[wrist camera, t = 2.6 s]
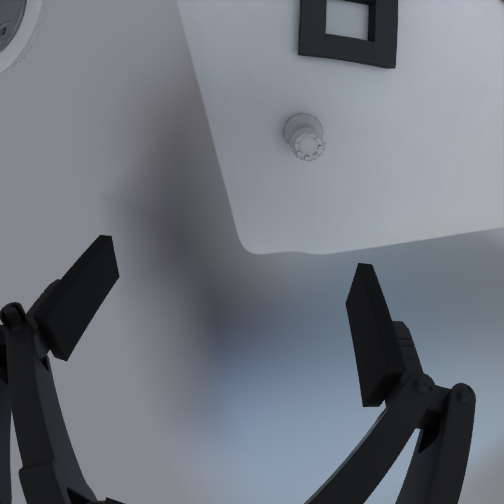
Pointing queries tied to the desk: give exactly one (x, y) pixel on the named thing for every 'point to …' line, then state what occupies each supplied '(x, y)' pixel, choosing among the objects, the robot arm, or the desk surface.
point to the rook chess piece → (305, 136)
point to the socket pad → (345, 48)
